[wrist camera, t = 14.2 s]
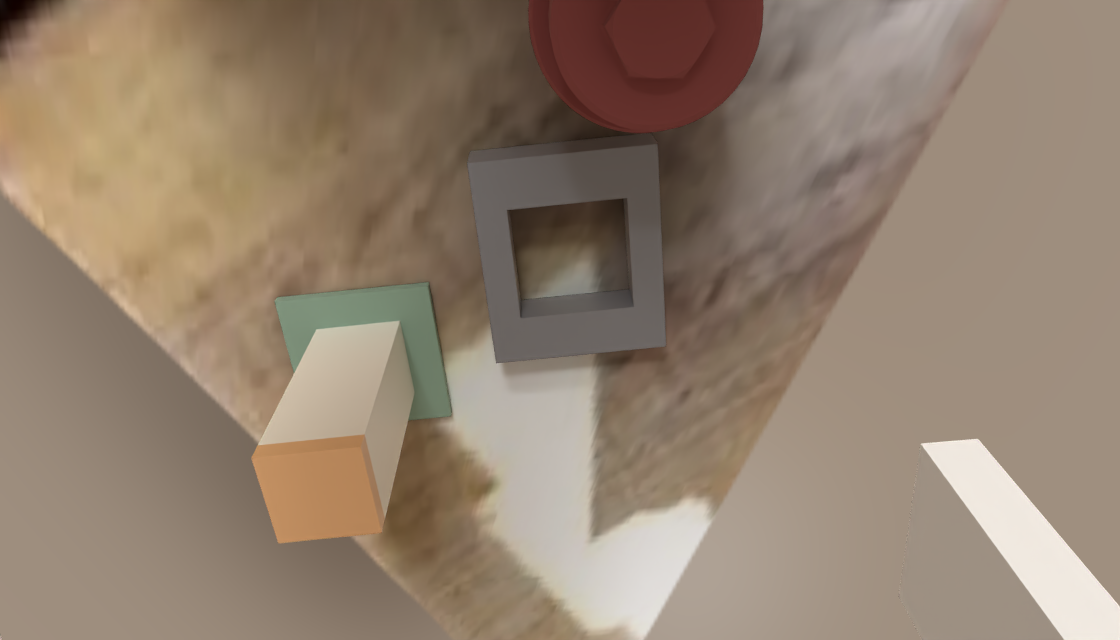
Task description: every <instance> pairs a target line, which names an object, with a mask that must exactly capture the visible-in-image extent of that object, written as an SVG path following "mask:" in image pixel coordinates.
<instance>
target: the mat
mask: <svg viewBox="0 0 1120 640" xmlns="http://www.w3.org/2000/svg"><path fill="white" fill-rule="evenodd" d="M275 305H276V309H277V312H278V316H279V320H280V323H281V327H282V331H283V334H284V338H285V342H286V346H287V349H288V353H289V357H290V360H291V364H292V368H293V371H294V373H295V371H296V369H297V367H298V365H299V363H300V361H301V359H302V357H303V355H304V353H305V351H306V349H307V347H308V345H309V343H310V341H311V339H312V337H313V335H314V333H315V331H316V329H325V328H334V327H344V326H354V325H363V324H373V323H383V322H392V321H400V323H401V328H402V333H403V338H404V343H405V348H406V353H407V358H408V363H409V367H410V372H411V377H412V382H413V387H414V392H415V393H414V397H413V402H412V406H411V410H410V414H409V419H408V420H417V419H427V418H438V417H448V416H451V413H452V409H451V404H450V398H449V392H448V387H447V381H446V376H445V370H444V364H443V359H442V353H441V348H440V342H439V336H438V331H437V325H436V319H435V314H434V308H433V303H432V297H431V291H430V286H429V282H425V283H415V284H405V285H395V286H385V287H375V288H365V289H355V290H345V291H336V292H326V293H316V294H306V295H296V296H286V297H277V299H276V300H275Z"/></svg>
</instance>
